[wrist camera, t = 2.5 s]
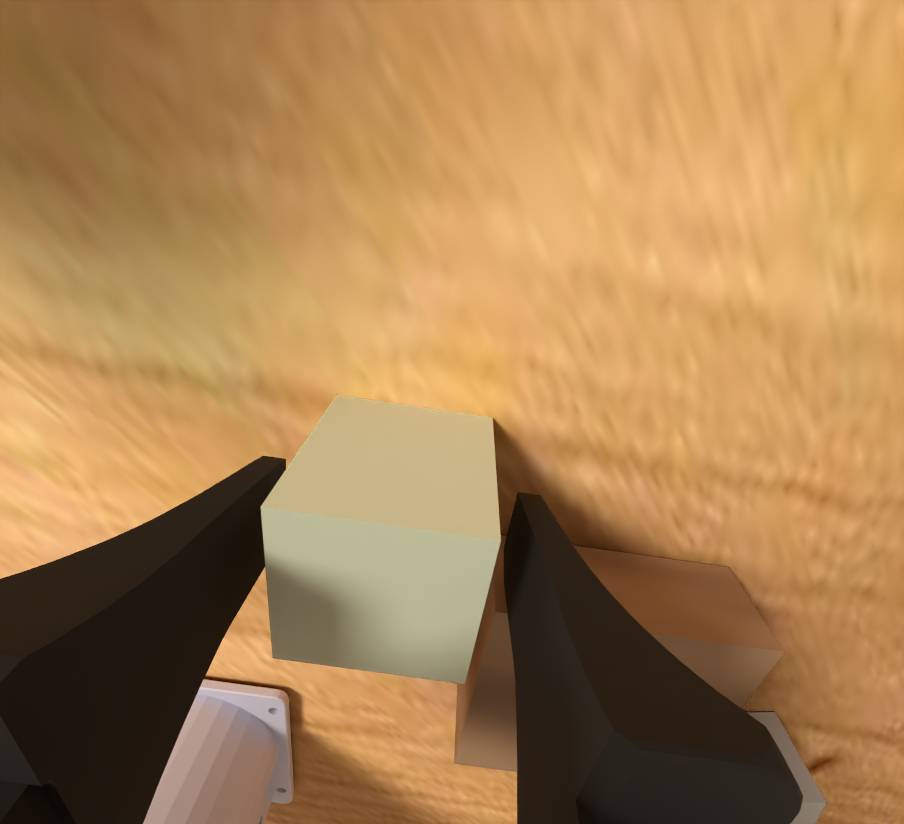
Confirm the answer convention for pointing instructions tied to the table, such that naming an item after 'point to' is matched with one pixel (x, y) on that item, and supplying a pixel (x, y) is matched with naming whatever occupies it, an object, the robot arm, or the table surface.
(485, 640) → the walnut block
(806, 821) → the slate block
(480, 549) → the sage block
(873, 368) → the table surface
